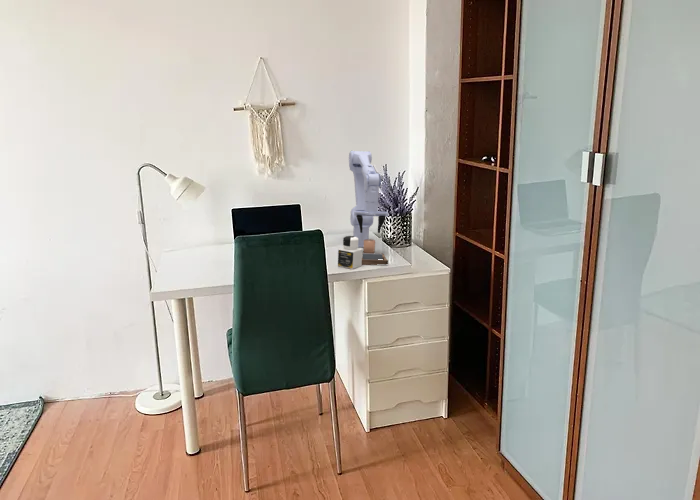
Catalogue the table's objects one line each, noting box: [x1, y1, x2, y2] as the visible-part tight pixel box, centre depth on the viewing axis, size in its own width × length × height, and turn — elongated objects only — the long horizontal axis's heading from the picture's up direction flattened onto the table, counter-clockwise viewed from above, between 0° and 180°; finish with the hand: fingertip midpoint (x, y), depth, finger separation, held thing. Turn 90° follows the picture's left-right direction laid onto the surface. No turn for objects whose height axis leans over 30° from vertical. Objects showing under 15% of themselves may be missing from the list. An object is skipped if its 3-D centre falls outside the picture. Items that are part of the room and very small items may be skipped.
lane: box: [361, 252, 389, 266], centre depth 246 cm, size 14×11×2 cm
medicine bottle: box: [337, 235, 363, 270], centre depth 235 cm, size 7×7×12 cm
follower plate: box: [362, 252, 382, 260], centre depth 247 cm, size 1×8×2 cm, turn 95°
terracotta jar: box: [362, 238, 376, 254], centre depth 257 cm, size 5×5×6 cm
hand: (370, 232), depth 255 cm, fingers open, 7 cm apart
